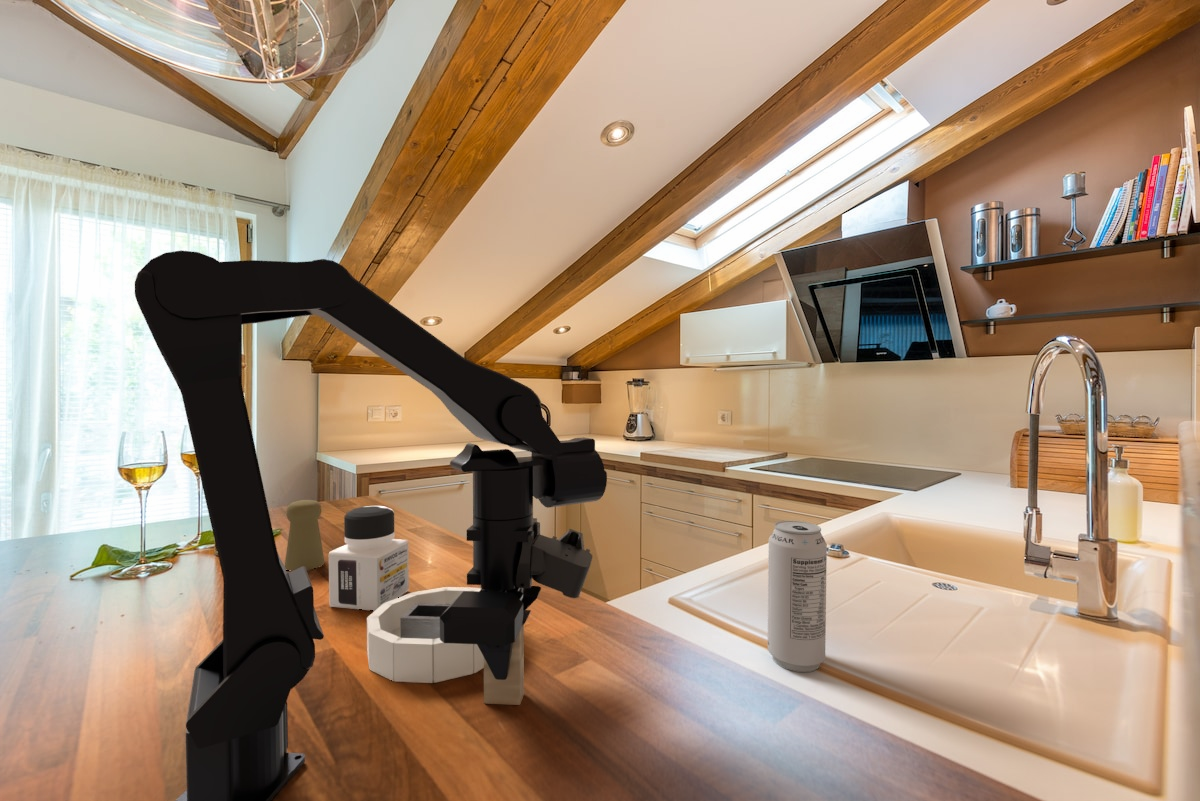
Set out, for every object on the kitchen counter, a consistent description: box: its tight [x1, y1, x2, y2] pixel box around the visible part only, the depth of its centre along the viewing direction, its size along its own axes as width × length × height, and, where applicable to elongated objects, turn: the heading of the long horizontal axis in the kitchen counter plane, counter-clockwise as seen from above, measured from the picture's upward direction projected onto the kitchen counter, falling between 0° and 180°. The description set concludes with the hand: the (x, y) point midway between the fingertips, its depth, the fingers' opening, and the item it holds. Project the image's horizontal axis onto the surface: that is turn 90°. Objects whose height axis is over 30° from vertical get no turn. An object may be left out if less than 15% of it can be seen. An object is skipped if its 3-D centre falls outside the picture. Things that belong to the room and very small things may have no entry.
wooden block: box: [483, 624, 525, 706], centre depth 53 cm, size 2×4×8 cm, turn 86°
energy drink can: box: [767, 520, 828, 673], centre depth 60 cm, size 6×6×15 cm
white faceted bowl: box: [366, 586, 484, 684], centre depth 64 cm, size 16×16×4 cm
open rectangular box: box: [400, 603, 451, 639], centre depth 64 cm, size 5×8×3 cm, turn 86°
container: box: [328, 505, 410, 612], centre depth 77 cm, size 8×8×13 cm
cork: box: [284, 499, 326, 571], centre depth 92 cm, size 6×6×11 cm
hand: (503, 673), depth 53 cm, fingers closed on wooden block, 2 cm apart
